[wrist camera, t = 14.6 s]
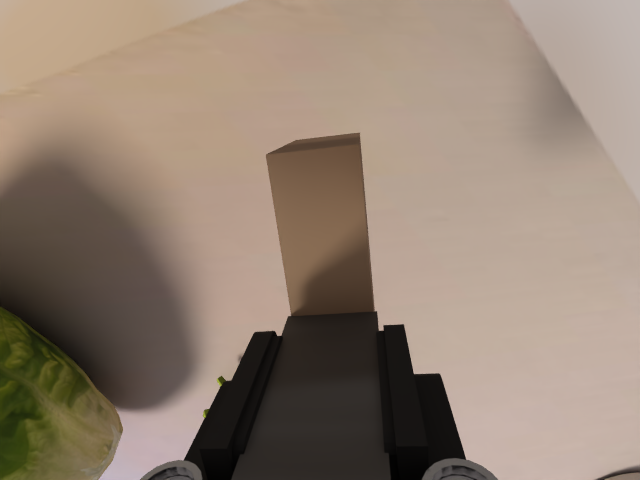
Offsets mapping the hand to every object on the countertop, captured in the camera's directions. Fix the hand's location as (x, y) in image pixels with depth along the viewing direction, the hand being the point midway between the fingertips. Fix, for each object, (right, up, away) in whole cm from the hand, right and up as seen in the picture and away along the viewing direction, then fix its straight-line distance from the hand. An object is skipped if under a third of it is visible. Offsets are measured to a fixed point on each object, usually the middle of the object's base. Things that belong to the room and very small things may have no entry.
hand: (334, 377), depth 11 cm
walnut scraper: (+1, +2, +6) cm, 6 cm away
